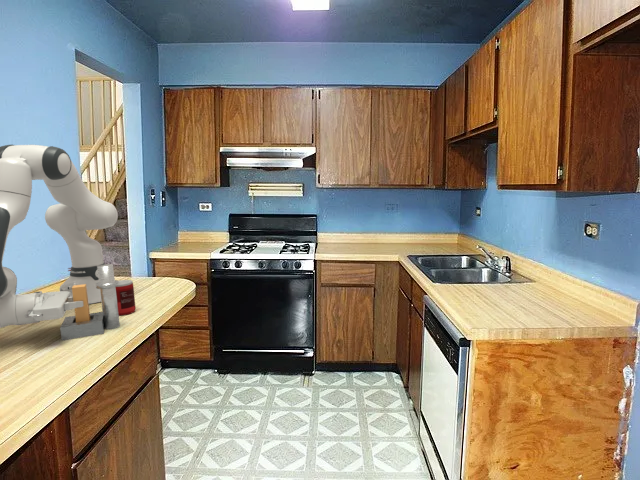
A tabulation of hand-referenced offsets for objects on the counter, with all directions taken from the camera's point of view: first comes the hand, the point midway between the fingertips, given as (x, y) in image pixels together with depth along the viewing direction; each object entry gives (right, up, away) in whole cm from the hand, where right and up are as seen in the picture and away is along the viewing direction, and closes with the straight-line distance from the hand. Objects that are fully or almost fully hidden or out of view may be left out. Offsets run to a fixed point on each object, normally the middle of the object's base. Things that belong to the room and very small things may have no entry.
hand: (84, 301), depth 130 cm
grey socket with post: (+2, -9, +2) cm, 10 cm away
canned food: (+3, -7, +19) cm, 21 cm away
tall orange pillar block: (-1, -7, +1) cm, 7 cm away
